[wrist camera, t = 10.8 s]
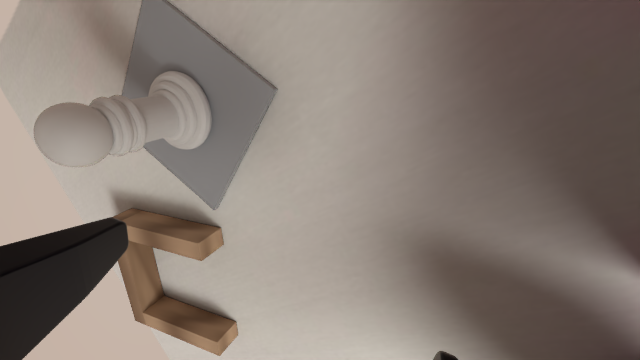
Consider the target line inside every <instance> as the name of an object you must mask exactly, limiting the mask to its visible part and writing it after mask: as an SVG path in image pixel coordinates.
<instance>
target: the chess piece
mask: <svg viewBox="0 0 640 360" xmlns="http://www.w3.org/2000/svg"><path fill="white" fill-rule="evenodd" d="M211 123H212V117H211V109H210V105H209V102H208V100H207V97H206V95H205V93H204V92H203V90H202V88H201V87H200V86H199V85H198V83H197V82H196V81H195V80H193V79H192V78H191V77H189V76H188V75H186V74H184V73H180V72H177V71H168V72H165V73H163V74H161V75H159V76H158V77H156V78H155V80H154V81H153V83H152V85H151V87H150V90H149V95H148V97H143V98H136V99H129V98H127V97H125V96H120V95H114V96H112V97H109V98H106V97H99V98H96V99H94V100H93V101H92V102H91V103H90V105H89V106H87V105H84V104H80V103H60V104H56V105H54V106H51V107H49V108H47V109H46V110H44V111H43V112H42V113H41V114H40V115H39V117H38V118H37V120H36V122H35V125H34V138H35V141H36V144H37V146H38V148H39V149H40V151H41V152H42V153H43V154H44V155H45V156H46V157H47V158H48V159H50V160H51V161H53V162H55V163H57V164H60V165H63V166H67V167H87V166H91V165H93V164H96V163H98V162H99V161H101V160H102V159H104V158H105V157H106V156H107V155H108V154H110V155H113V156H122V155H125V154H126V153H128V152H136V151H138V150H140V149H141V148H142V147H143V146H144V145H145V143H147V142H150V141H154V140H158V139H161V138H163V139H165V140H166V141H167V142H168V143H169V144H171V145H172V146H174V147H176V148H179V149H194V148H197V147H198V146H200V145H201V144H202V143H203V142H204V141H205V140H206V139H207V137H208V135H209V133H210V130H211Z"/></svg>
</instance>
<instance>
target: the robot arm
mask: <svg viewBox="0 0 640 360" xmlns="http://www.w3.org/2000/svg"><path fill="white" fill-rule="evenodd" d="M128 245H129V240H128V231H127V225H126V223H125V222H124V221H121V220H119V219H116V218H106V219H102V220H99V221H95V222H91V223H87V224H83V225H80V226H76V227H72V228H68V229H64V230H61V231H57V232H53V233H49V234H46V235H42V236H38V237H34V238H30V239H26V240H22V241H19V242H15V243H11V244H7V245H3V246H0V360H22V359H23V358H24V357H25V356H26V355H27V354H28V353H29V352H30V351H31V350H32V349H33V348H34V347H35V346H36V345H38V344H39V343H40V342H41V340H43V339H44V338H45V337H46V336H47V335H48V334H49V333H50V331H52V330H53V329H54V328H55V327H56V326H57V325H58V324H59V323H60V322H61V321H62V320H63V319H64V318H65V317H66V316H67V315H68V314H69V313H70V312H71V311H72V310H73V309H74V308H75V307H76V306H77V305H78V304H80V303H81V302H82V300H84V299H85V297H86V296H87V295H88V294H89V293H90V292H91V291H92V290H93V289H94V288H95V287H96V285H97V284H98V283H99V282H100V281H101V280H102V278H103V277H104V276H105V275H106V274H107V273H108V271H109V270H110V269H111V268H112V267H113V266H114V264H115V263H116V262H117V261H118V260H119V259H120V257H121V256H122V255H123V254H124V253H125V251H126V250H127V248H128ZM433 360H458V359H457V358H456V357H455V356H453V355H451V354H448V353H446V352H444V351H439V352H438V353H437V354H436V356H435V357H434V359H433Z"/></svg>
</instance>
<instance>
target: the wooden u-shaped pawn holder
mask: <svg viewBox="0 0 640 360" xmlns="http://www.w3.org/2000/svg"><path fill="white" fill-rule="evenodd" d="M111 218H116V219H119V220H121V221H124V222H125V223H126V225H127V231H128V240H129V245H128V248H127V250H126V251H125V253H124V254H123V255H122V256H121V257H120V259H119V260H118V263H119V267H120V270H121V273H122V277H123V280H124V283H125V287H126V290H127V294H128V297H129V300H130V304H131V307H132V311H133V314H134V317H135V320H136V321H138V322H140V323H143V324H145V325H147V326H150V327H152V328H154V329H157V330H159V331H161V332H164V333H166V334H169V335H171V336H173V337H176V338H178V339H180V340H183V341H185V342H187V343H190V344H192V345H195V346H197V347H199V348H202V349H204V350H206V351H209V352H211V353H214V354H216V355H218V356H220V355H221V354H222V353H223V352H224V351H225V349H226V348H227V347H228V346H229V345H230V344H231V342H232V341H233V340H234V339H235V338H236V337H237V336H238V330H237V324H236V322H235V321H232V320H230V319H227V318H224V317H221V316H219V315H216V314H213V313H210V312H207V311H205V310H202V309H199V308H196V307H194V306H191V305H188V304H185V303H182V302H180V301H177V300H174V299H171V298H169V297H166V296H164V293H163V289H162V285H161V281H160V277H159V273H158V269H157V265H156V261H155V257H154V253H153V249H152V247H154V248H157V249H161V250H164V251H168V252H171V253H175V254H178V255H182V256H186V257H189V258H193V259H196V260H200V261H202V260H204V259H205V258H206V257H208V256H209V255H210V254H212V253H213V252H214V251H216V250H217V249H218V248H220V247H221V246H222V245H224V243H223V237H222V231H221V228H219V227H214V226H210V225H205V224H201V223H196V222H192V221H187V220H183V219H178V218H174V217H169V216H165V215H160V214H156V213H151V212H147V211H142V210H138V209H133V208H131V209H129V210H127V211H124V212H122V213H120V214H118V215H116V216H113V217H111Z"/></svg>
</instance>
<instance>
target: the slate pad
mask: <svg viewBox="0 0 640 360" xmlns="http://www.w3.org/2000/svg"><path fill="white" fill-rule="evenodd" d="M168 71H177V72H180V73H184V74H186V75H188V76H189V77H191V78H192V79H193V80H195V81H196V82H197V83H198V85H199V86H200V87H201V88H202V90H203V92H204V93H205V95H206V97H207V100H208V102H209V105H210V109H211V117H212V123H211V130H210V133H209V135H208V137H207V139H206V140H205V141H204V142H203V143H202V144H201V145H200V146H198V147H197V148H194V149H179V148H176V147H174V146H172V145H171V144H169V143H168V142H167V141H166V140H165V139H163V138H161V139H158V140H154V141H150V142H147V143H145V145H144V146H143V147H144V148H145V149H146V150H147V151H148V152H149V153H150V154H152V155H153V156H154V157H155V158H156V159H157V160H158V161H159V162H160V163H162V164H163V165H164V166H165V167H166V168H167V169H168V170H169V171H171V172H172V173H173V174H174V175H175V176H176V177H177V178H178V179H180V180H181V181H182V182H183V183H184V184H185V185H186V186H187V187H189V188H190V189H191V190H192V191H193V192H194V193H195V194H196V195H198V196H199V197H200V198H201V199H202V200H203V201H204V202H205V203H206V204H208V205H209V206H210V207H211V208H212V209H213V210H215V209H217V208H218V206H219V204H220V202H221V200H222V198H223V196H224V194H225V192H226V190H227V188H228V186H229V184H230V182H231V180H232V178H233V176H234V174H235V172H236V170H237V168H238V166H239V164H240V162H241V160H242V158H243V156H244V154H245V152H246V150H247V148H248V146H249V144H250V143H251V141H252V139H253V137H254V135H255V133H256V131H257V129H258V127H259V125H260V123H261V121H262V119H263V117H264V115H265V113H266V111H267V109H268V107H269V105H270V103H271V101H272V99H273V97H274V95H275V93H276V91H277V88H275V87H274V86H273V85H272V84H270V83H269V82H268V81H267V80H265V79H264V78H263V77H262V76H260V75H259V74H258V73H257V72H255V71H254V70H253V69H251V68H250V67H249V66H248V65H246V64H245V63H244V62H243V61H241V60H240V59H239V58H238V57H236V56H235V55H234V54H233V53H231V52H230V51H229V50H228V49H226V48H225V47H224V46H223V45H221V44H220V43H219V42H218V41H216V40H215V39H214V38H213V37H211V36H210V35H209V34H208V33H206V32H205V31H204V30H203V29H201V28H200V27H199V26H198V25H196V24H195V23H194V22H193V21H191V20H190V19H189V18H188V17H186V16H185V15H184V14H183V13H181V12H180V11H179V10H178V9H176V8H175V7H174V6H173V5H171V4H170V3H169V2H168V1H166V0H142V5H141V10H140V14H139V19H138V24H137V28H136V33H135V37H134V42H133V47H132V51H131V56H130V61H129V65H128V70H127V75H126V79H125V84H124V88H123V93H122V96H125V97H127V98H129V99H136V98H143V97H148V95H149V90H150V87H151V85H152V83H153V81H154V80H155V78H156V77H158V76H159V75H161V74H163V73H165V72H168Z"/></svg>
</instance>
